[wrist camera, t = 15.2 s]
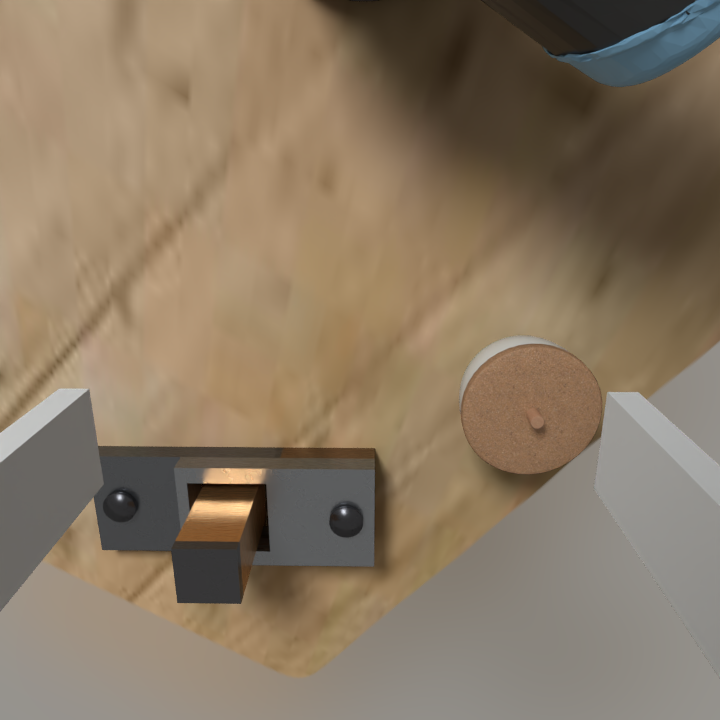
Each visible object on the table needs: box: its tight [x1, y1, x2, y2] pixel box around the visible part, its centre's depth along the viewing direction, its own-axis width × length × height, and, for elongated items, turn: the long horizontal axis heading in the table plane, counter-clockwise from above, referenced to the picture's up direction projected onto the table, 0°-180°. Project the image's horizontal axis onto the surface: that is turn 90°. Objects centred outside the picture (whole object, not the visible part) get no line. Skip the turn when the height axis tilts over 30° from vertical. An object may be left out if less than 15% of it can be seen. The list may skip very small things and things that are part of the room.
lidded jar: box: [459, 335, 602, 474], centre depth 50 cm, size 11×11×9 cm
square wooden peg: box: [171, 483, 266, 604], centre depth 53 cm, size 5×5×12 cm
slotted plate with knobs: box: [94, 446, 375, 567], centre depth 56 cm, size 10×26×5 cm, turn 90°
